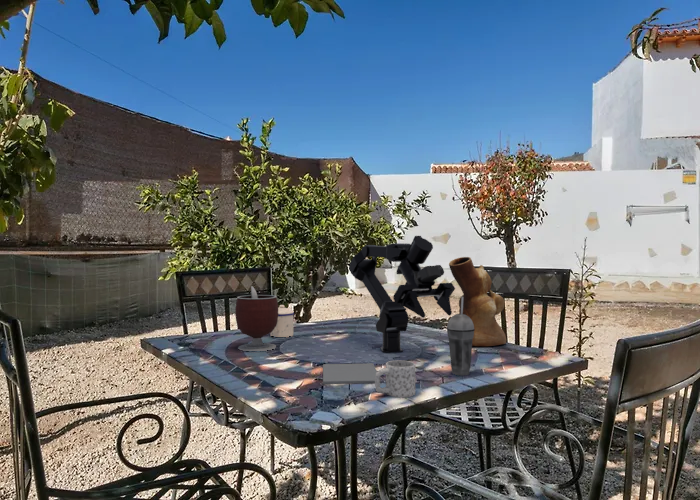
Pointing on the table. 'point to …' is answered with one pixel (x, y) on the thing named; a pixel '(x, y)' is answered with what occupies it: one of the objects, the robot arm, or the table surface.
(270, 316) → the mate gourd
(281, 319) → the teacup with lid
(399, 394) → the mug
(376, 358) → the table surface
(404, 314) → the robot arm
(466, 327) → the beverage cup
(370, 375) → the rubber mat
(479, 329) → the ceramic vessel
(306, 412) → the table surface
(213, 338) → the table surface
